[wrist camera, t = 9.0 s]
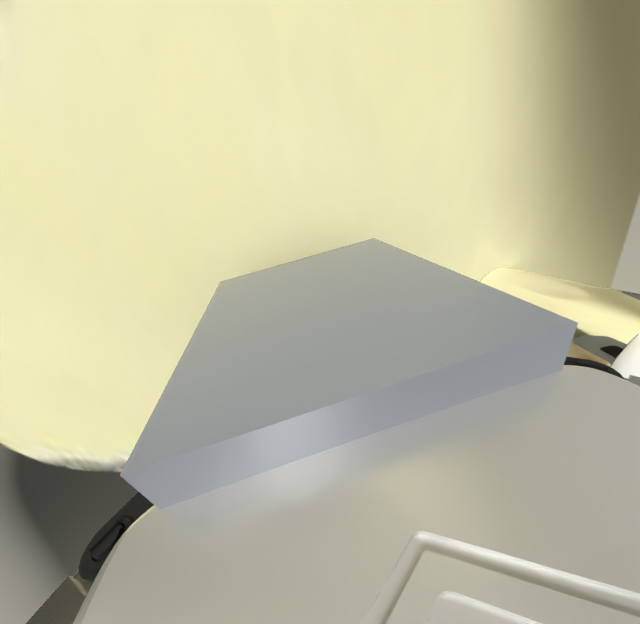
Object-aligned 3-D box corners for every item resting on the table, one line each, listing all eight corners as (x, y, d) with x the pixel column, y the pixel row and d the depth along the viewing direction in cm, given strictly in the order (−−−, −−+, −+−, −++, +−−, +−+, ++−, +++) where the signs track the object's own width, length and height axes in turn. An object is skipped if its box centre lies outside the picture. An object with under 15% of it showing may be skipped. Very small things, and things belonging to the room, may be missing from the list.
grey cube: (220, 282, 11) (119, 475, 4) (374, 238, 12) (578, 322, 4) (272, 394, 15) (278, 612, 7) (387, 357, 15) (510, 521, 8)
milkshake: (537, 290, 17) (813, 386, 9) (472, 329, 18) (672, 459, 9) (531, 236, 15) (887, 290, 7) (457, 282, 16) (700, 391, 7)
